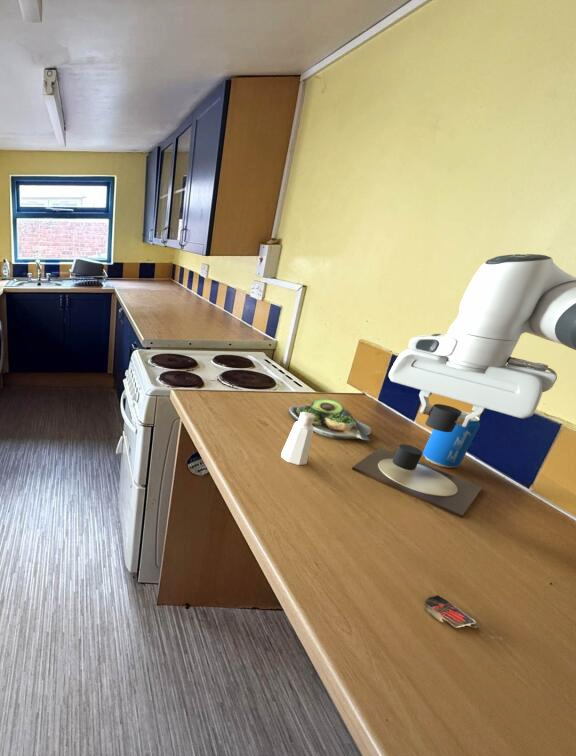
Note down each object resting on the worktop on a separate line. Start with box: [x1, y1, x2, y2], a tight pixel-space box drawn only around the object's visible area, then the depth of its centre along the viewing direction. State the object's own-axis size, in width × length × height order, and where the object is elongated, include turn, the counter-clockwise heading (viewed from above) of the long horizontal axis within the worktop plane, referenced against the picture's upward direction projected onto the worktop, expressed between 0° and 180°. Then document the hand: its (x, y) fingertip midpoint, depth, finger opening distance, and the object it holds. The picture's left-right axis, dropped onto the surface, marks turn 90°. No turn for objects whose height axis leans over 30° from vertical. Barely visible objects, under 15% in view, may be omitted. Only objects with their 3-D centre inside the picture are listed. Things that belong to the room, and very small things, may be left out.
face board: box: [351, 447, 483, 518], centre depth 84 cm, size 18×16×1 cm
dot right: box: [425, 403, 462, 432], centre depth 76 cm, size 4×4×4 cm
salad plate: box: [288, 398, 372, 442], centre depth 104 cm, size 19×18×5 cm
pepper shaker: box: [280, 412, 315, 466], centre depth 87 cm, size 5×5×11 cm
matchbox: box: [423, 594, 479, 629], centre depth 54 cm, size 5×5×1 cm
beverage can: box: [422, 410, 481, 469], centre depth 89 cm, size 6×6×12 cm
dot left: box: [392, 443, 423, 470], centre depth 87 cm, size 4×4×4 cm
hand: (442, 419), depth 76 cm, fingers closed on dot right, 4 cm apart
